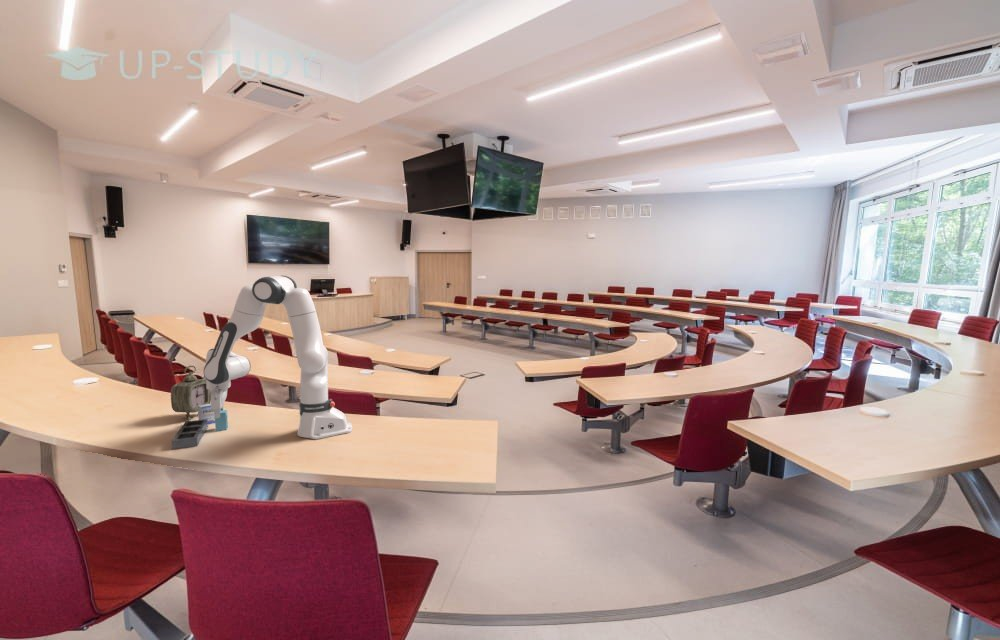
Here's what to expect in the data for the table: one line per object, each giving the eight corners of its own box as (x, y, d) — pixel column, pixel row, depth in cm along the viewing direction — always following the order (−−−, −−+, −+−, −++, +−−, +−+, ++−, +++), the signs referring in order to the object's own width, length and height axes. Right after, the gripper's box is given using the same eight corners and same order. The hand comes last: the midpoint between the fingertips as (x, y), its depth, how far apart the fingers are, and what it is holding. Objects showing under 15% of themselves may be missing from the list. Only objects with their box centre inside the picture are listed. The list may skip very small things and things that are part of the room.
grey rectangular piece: (207, 426, 187) (207, 419, 187) (197, 446, 166) (196, 437, 165) (186, 429, 183) (185, 421, 183) (172, 449, 162) (171, 440, 162)
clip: (227, 427, 187) (227, 409, 186) (226, 430, 183) (225, 412, 183) (217, 428, 185) (216, 410, 184) (215, 431, 182) (214, 413, 181)
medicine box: (201, 426, 188) (201, 407, 187) (198, 423, 190) (197, 405, 190) (221, 421, 194) (220, 403, 193) (218, 419, 197) (217, 401, 196)
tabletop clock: (189, 422, 192) (186, 369, 189) (170, 422, 192) (167, 368, 189) (211, 412, 206) (209, 363, 204) (193, 412, 206) (191, 362, 204)
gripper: (224, 388, 174) (224, 420, 175) (229, 378, 192) (230, 407, 194) (205, 390, 171) (206, 422, 173) (213, 379, 189) (214, 408, 191)
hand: (219, 414), depth 183 cm, fingers open, 8 cm apart
